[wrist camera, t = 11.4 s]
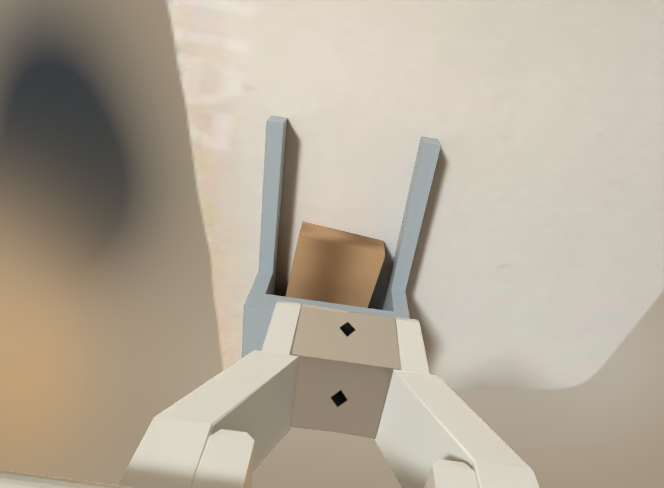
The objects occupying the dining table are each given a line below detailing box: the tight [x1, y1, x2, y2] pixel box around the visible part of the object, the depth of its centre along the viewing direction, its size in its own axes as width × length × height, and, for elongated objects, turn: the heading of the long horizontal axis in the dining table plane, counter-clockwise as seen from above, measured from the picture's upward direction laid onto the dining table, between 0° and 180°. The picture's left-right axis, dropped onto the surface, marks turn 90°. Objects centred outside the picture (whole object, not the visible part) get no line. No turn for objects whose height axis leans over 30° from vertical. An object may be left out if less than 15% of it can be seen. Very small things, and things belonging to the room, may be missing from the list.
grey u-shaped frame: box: [242, 116, 441, 358], centre depth 34 cm, size 12×20×7 cm, turn 173°
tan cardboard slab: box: [285, 222, 385, 308], centre depth 37 cm, size 7×10×3 cm
